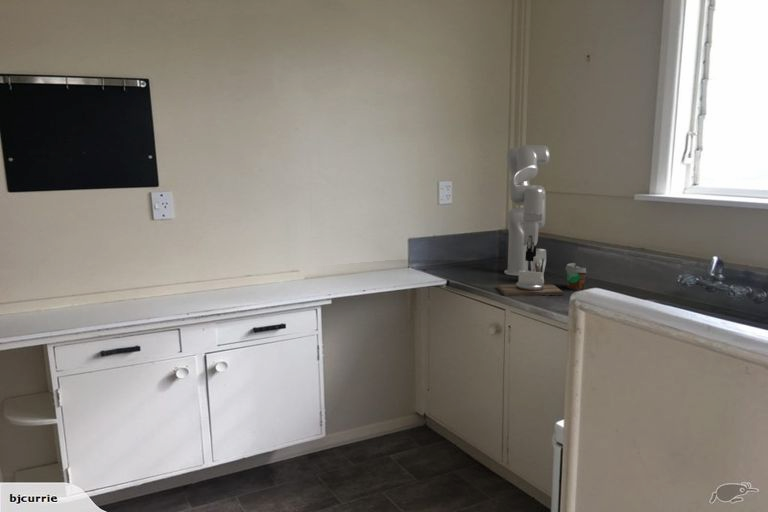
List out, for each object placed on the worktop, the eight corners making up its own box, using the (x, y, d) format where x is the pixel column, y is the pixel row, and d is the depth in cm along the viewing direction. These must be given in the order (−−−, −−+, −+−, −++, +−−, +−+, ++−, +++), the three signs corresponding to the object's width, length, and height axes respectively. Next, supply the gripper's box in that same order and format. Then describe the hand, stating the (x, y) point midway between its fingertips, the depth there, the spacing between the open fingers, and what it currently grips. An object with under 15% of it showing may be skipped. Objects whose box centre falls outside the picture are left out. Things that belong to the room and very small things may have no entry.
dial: (513, 288, 252) (514, 273, 251) (519, 283, 262) (519, 268, 261) (541, 291, 248) (541, 275, 247) (545, 286, 258) (545, 270, 257)
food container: (560, 285, 268) (561, 263, 266) (573, 285, 268) (574, 262, 267) (570, 291, 256) (572, 268, 254) (585, 291, 256) (586, 268, 255)
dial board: (497, 287, 263) (497, 284, 262) (553, 287, 263) (553, 284, 263) (504, 295, 248) (504, 291, 248) (563, 295, 248) (563, 291, 248)
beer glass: (545, 284, 270) (547, 251, 267) (529, 283, 271) (530, 250, 269) (544, 281, 277) (546, 248, 274) (528, 280, 278) (530, 248, 275)
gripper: (525, 214, 260) (523, 254, 263) (520, 220, 244) (518, 262, 247) (543, 215, 257) (541, 255, 261) (540, 221, 241) (537, 263, 245)
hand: (530, 258), depth 254 cm, fingers open, 9 cm apart
